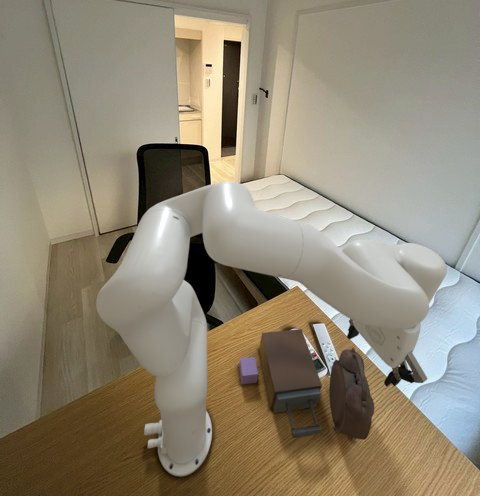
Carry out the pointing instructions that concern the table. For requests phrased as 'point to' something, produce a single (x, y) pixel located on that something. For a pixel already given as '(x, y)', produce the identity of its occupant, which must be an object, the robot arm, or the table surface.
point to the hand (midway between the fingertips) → (369, 357)
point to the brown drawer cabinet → (287, 363)
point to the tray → (299, 401)
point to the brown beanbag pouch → (350, 396)
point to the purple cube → (248, 370)
